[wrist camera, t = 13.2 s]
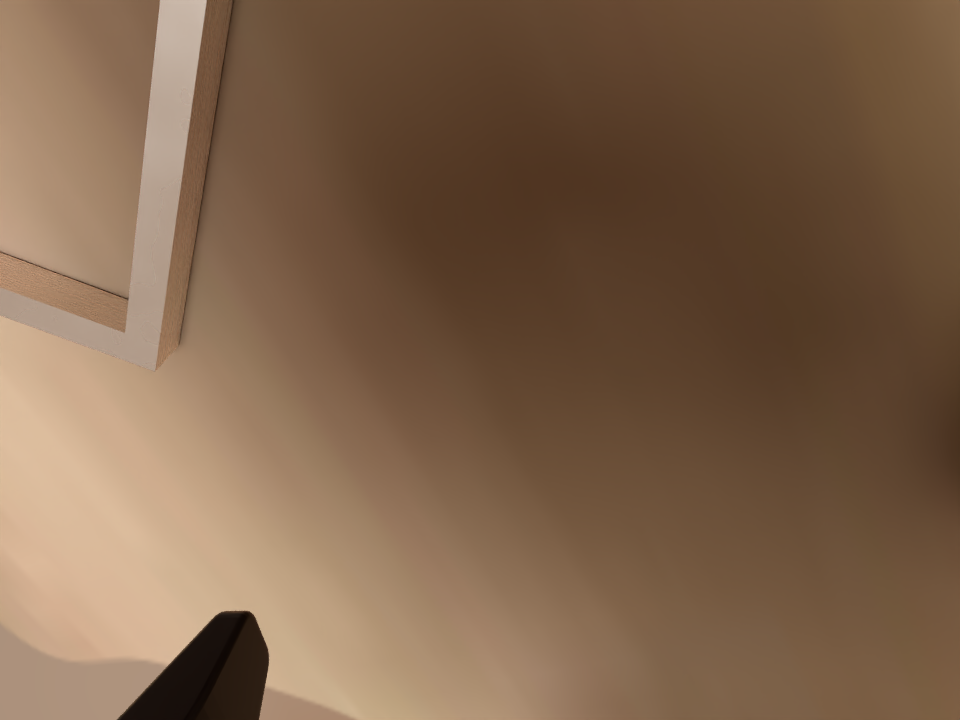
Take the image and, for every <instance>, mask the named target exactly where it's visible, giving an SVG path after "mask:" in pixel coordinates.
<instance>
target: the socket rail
mask: <svg viewBox="0 0 960 720" xmlns="http://www.w3.org/2000/svg"><path fill="white" fill-rule="evenodd" d="M232 3H233V0H160V7H159V16H158V26H157V35H156V45H155V54H154V64H153V73H152V83H151V92H150V102H149V111H148V121H147V130H146V139H145V149H144V158H143V168H142V177H141V187H140V196H139V206H138V215H137V225H136V234H135V244H134V253H133V263H132V272H131V281H130V291H129V300H127V299H124V298H122V297H119V296H116V295H114V294H111V293H108V292H106V291H103V290H100V289H97V288H95V287H92V286H89V285H87V284H84V283H81V282H79V281H76V280H73V279H71V278H68V277H65V276H62V275H60V274H57V273H54V272H52V271H49V270H46V269H44V268H41V267H38V266H35V265H33V264H30V263H27V262H25V261H22V260H19V259H17V258H14V257H11V256H8V255H6V254H3V253H0V316H3V317H6V318H9V319H11V320H14V321H17V322H20V323H23V324H25V325H28V326H31V327H34V328H36V329H39V330H42V331H45V332H47V333H50V334H53V335H56V336H58V337H61V338H64V339H67V340H69V341H72V342H75V343H78V344H80V345H83V346H86V347H89V348H91V349H94V350H97V351H100V352H102V353H105V354H108V355H111V356H113V357H116V358H119V359H122V360H125V361H127V362H130V363H133V364H136V365H138V366H141V367H144V368H147V369H149V370H152V371H156V370H157V369H158V368H159V367H160V366H161V364H162V363H163V362H164V361H165V360H166V359H167V358H168V357H169V355H170V354H171V353H172V352H173V351H174V350H175V349H176V348H177V347H178V345H179V339H180V333H181V327H182V320H183V314H184V308H185V301H186V295H187V289H188V282H189V276H190V270H191V263H192V257H193V251H194V244H195V238H196V232H197V225H198V219H199V213H200V206H201V200H202V193H203V187H204V181H205V174H206V168H207V162H208V155H209V149H210V143H211V136H212V130H213V124H214V117H215V111H216V105H217V98H218V92H219V86H220V79H221V73H222V67H223V60H224V54H225V48H226V41H227V35H228V29H229V22H230V16H231V10H232Z"/></svg>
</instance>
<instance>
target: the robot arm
mask: <svg viewBox="0 0 960 720" xmlns="http://www.w3.org/2000/svg"><path fill="white" fill-rule="evenodd" d="M268 666H269V653H268V648H267V645H266V643H265V640H264V638H263V636H262V633H261V631H260V628H259V626H258V623H257V621H256V618H255V616H254V615H253V614H252V613H251V612H249V611H224V612H221V613H219V614H217V615H216V616H215V617H214V618H213V619H212V620H211V621H210V622H209V623H208V624H207V625H206V626H205V627H204V628H203V629H202V630H201V631H200V632H199V633H198V634H197V636H196V637H195V638H194V639H193V640H192V641H191V642H190V643H189V644H188V645H187V646H186V647H185V648H184V649H183V650H182V651H181V652H180V654H179V655H178V656H177V657H176V658H175V659H174V660H173V661H172V662H171V663H170V664H169V665H168V666H167V667H166V668H165V669H164V670H163V672H162V673H161V674H160V675H159V676H158V677H157V678H156V679H155V680H154V681H153V682H152V683H151V684H150V685H149V686H148V688H146V689H145V691H144V692H143V693H142V694H141V695H140V696H139V697H138V698H137V699H136V700H135V701H134V702H133V703H132V704H131V705H130V706H129V708H128V709H127V710H126V711H125V712H124V713H123V714H122V715H121V716H120V717H119V718H118V719H117V720H259V716H260V710H261V705H262V700H263V694H264V689H265V683H266V678H267V672H268Z"/></svg>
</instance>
